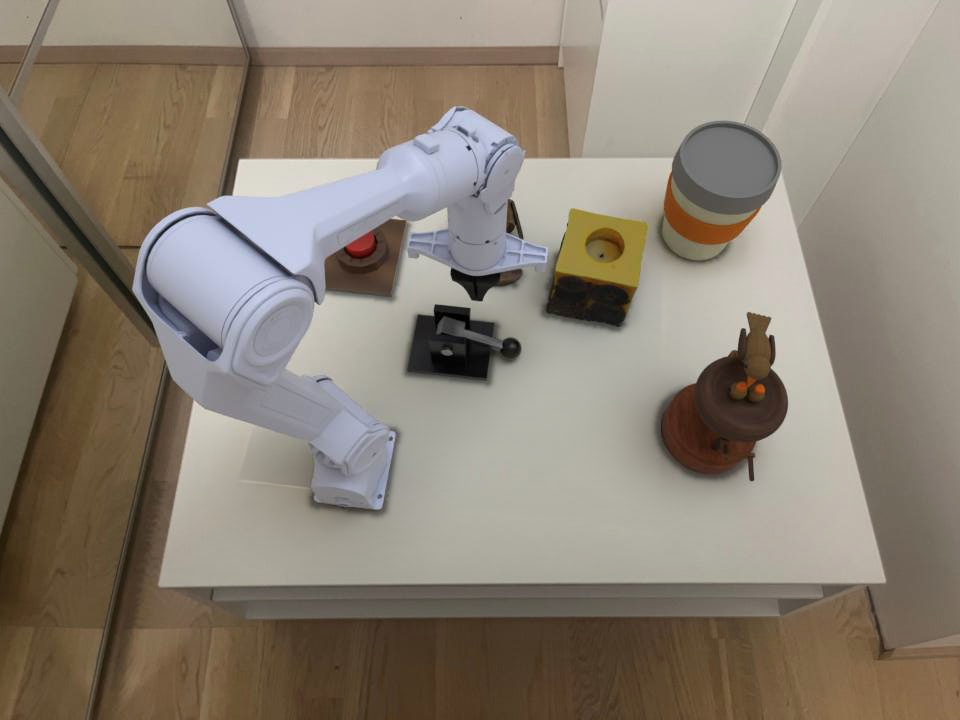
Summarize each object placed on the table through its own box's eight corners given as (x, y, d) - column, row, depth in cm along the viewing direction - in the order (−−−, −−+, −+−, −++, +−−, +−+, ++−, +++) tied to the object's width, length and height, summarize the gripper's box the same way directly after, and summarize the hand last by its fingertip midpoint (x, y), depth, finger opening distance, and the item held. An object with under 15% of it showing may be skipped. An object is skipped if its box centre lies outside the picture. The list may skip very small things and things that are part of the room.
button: (372, 260, 88) (370, 252, 86) (343, 256, 88) (340, 249, 87) (378, 235, 90) (376, 227, 88) (349, 232, 90) (347, 224, 88)
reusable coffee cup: (651, 269, 90) (681, 197, 77) (646, 195, 96) (674, 116, 82) (744, 273, 90) (791, 202, 77) (734, 199, 95) (776, 120, 82)
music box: (648, 381, 83) (711, 298, 65) (732, 381, 84) (817, 299, 66) (668, 502, 77) (744, 448, 59) (759, 500, 78) (862, 446, 60)
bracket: (494, 326, 87) (495, 299, 81) (487, 382, 83) (487, 358, 77) (418, 317, 87) (413, 290, 81) (408, 373, 84) (402, 349, 78)
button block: (391, 298, 89) (389, 286, 86) (318, 290, 89) (313, 278, 86) (407, 225, 94) (405, 211, 91) (337, 218, 94) (333, 204, 92)
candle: (544, 314, 87) (551, 272, 78) (559, 252, 92) (567, 205, 83) (621, 330, 86) (638, 290, 77) (632, 266, 91) (649, 221, 82)
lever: (517, 345, 85) (526, 337, 83) (514, 365, 84) (524, 357, 82) (437, 322, 82) (444, 312, 80) (434, 342, 81) (441, 333, 79)
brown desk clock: (539, 186, 90) (467, 169, 88) (533, 260, 83) (455, 242, 82) (524, 222, 96) (456, 205, 94) (518, 293, 89) (445, 277, 88)
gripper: (555, 196, 66) (543, 271, 78) (411, 180, 67) (421, 257, 79) (548, 254, 63) (537, 323, 75) (398, 238, 64) (411, 309, 76)
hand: (477, 293), depth 77 cm, fingers closed
